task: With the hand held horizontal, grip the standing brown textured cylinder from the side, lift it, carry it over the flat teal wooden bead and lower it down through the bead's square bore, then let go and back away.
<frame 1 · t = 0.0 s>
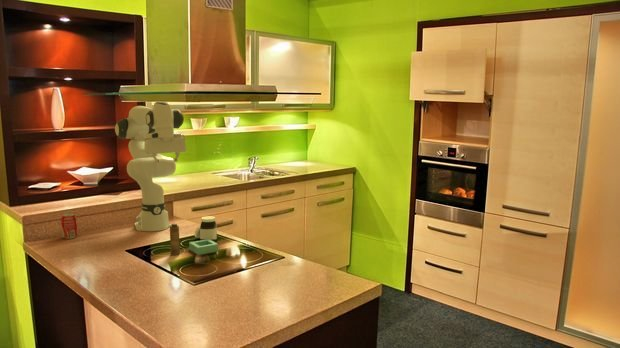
hand: (166, 162, 244), 39 cm above the worktop, tool pointing down, fingers open, 8 cm apart
bead: (203, 250, 230), on the worktop
soda can: (70, 237, 249), on the worktop
spread jar: (205, 240, 247), on the worktop
brown textured cylinder: (175, 254, 224), on the worktop
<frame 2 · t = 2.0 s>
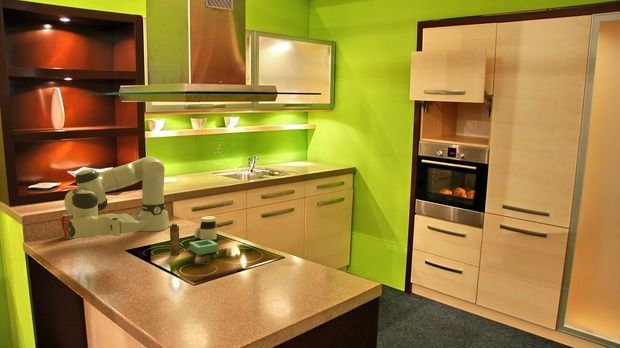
hand: (144, 220, 214), 18 cm above the worktop, tool horizontal, fingers open, 8 cm apart
nothing on the worktop moved.
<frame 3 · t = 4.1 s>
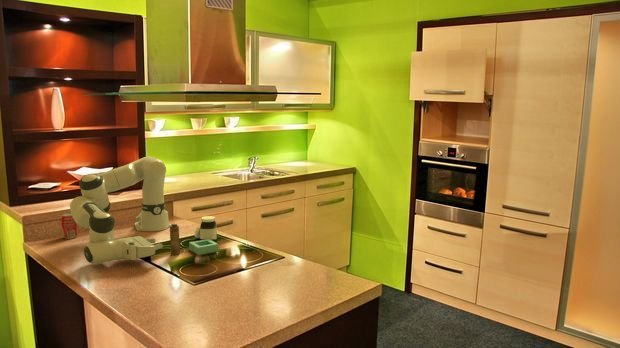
hand: (158, 242, 218), 7 cm above the worktop, tool horizontal, fingers open, 8 cm apart
nothing on the worktop moved.
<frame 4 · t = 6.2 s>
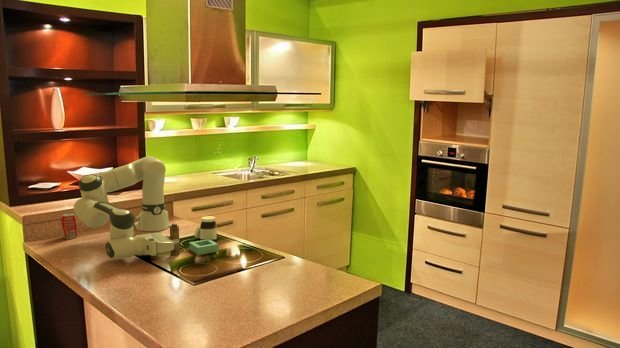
hand: (176, 239, 223), 7 cm above the worktop, tool horizontal, fingers closed on brown textured cylinder, 4 cm apart
brown textured cylinder: (175, 254, 224), on the worktop, touching gripper
everything else where it was.
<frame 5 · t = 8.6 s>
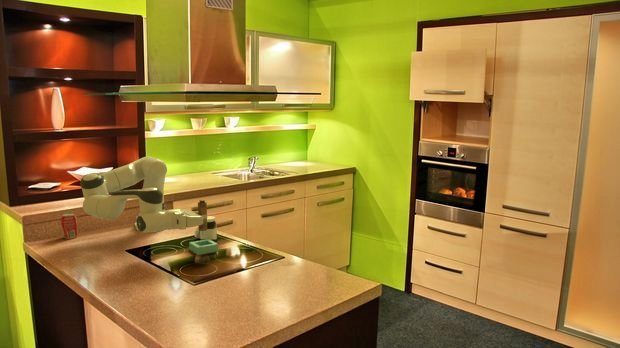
hand: (204, 214, 228), 17 cm above the worktop, tool horizontal, fingers closed on brown textured cylinder, 4 cm apart
brown textured cylinder: (202, 229, 228), point 10 cm above the worktop, touching gripper
everything else where it was.
when the fingers open (8 cm above the worktop, at t = 10.9 s): brown textured cylinder drops 1 cm, resting in bead.
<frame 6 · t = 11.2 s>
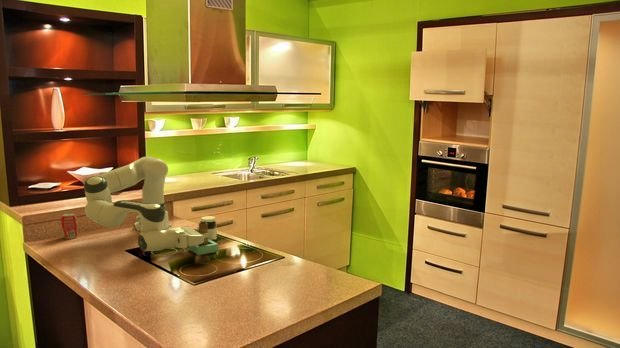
hand: (205, 232, 229), 8 cm above the worktop, tool horizontal, fingers open, 7 cm apart
brown textured cylinder: (203, 250, 230), resting in bead
everything else where it was.
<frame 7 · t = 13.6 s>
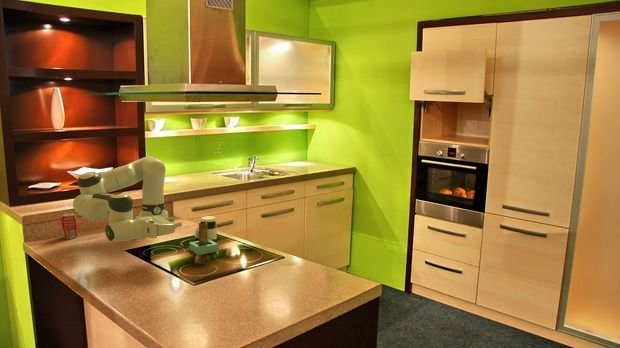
hand: (177, 221, 220), 16 cm above the worktop, tool horizontal, fingers open, 8 cm apart
nothing on the worktop moved.
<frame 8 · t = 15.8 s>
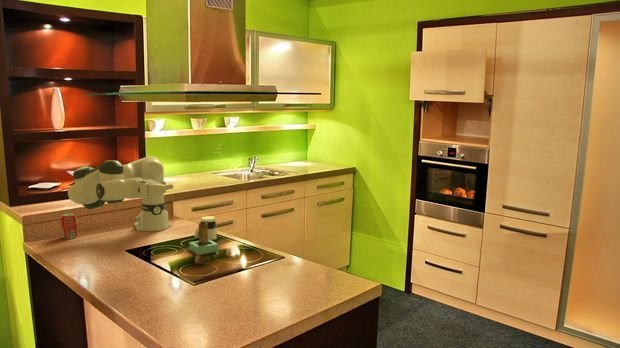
hand: (168, 184, 220), 32 cm above the worktop, tool horizontal, fingers open, 8 cm apart
nothing on the worktop moved.
at the end: brown textured cylinder 0.1 cm off-centre on the bead, point 0.0 cm above the bead's base; brown textured cylinder tilted 0°; the gripper is holding nothing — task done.
